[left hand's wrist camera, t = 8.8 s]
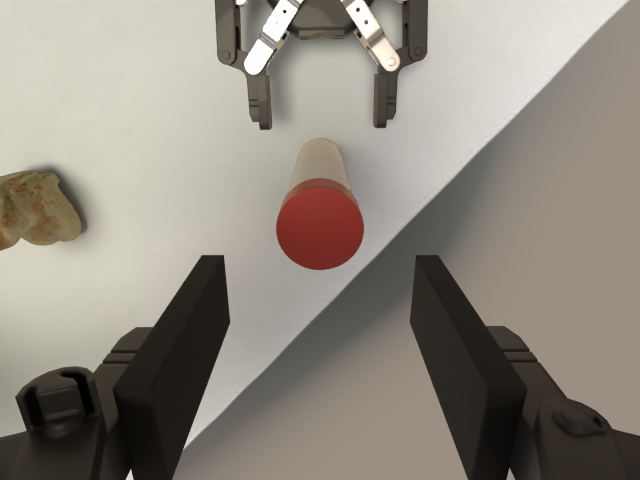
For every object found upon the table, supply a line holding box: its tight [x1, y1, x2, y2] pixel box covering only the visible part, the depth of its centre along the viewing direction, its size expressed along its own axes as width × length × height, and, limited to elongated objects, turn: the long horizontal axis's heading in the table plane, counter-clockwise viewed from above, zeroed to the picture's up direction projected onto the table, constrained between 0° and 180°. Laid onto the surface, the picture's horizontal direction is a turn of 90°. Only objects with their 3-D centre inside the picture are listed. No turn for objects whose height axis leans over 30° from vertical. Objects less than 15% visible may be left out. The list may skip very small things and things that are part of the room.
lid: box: [276, 178, 364, 270], centre depth 21 cm, size 4×4×2 cm
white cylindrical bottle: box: [288, 138, 352, 193], centre depth 29 cm, size 4×4×18 cm
